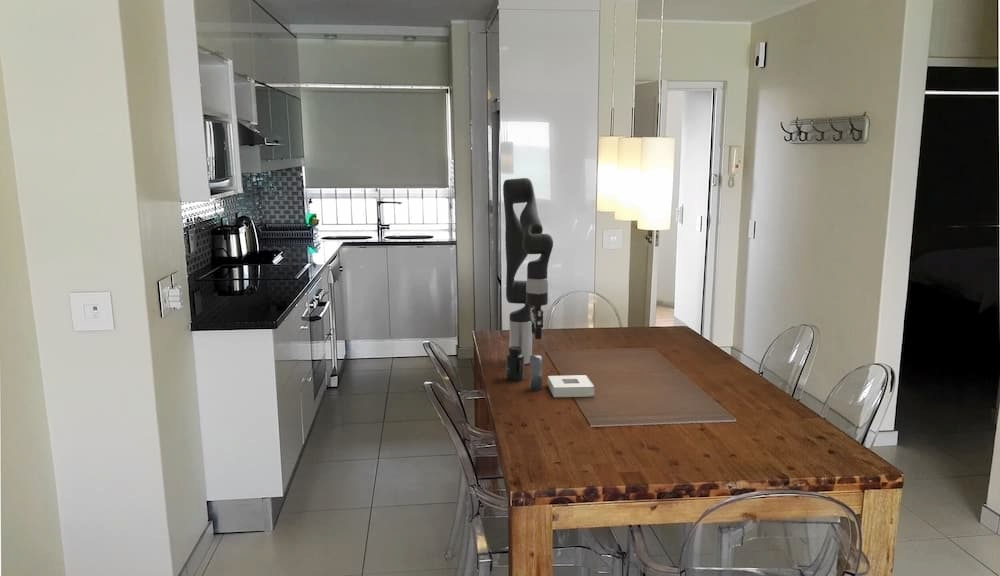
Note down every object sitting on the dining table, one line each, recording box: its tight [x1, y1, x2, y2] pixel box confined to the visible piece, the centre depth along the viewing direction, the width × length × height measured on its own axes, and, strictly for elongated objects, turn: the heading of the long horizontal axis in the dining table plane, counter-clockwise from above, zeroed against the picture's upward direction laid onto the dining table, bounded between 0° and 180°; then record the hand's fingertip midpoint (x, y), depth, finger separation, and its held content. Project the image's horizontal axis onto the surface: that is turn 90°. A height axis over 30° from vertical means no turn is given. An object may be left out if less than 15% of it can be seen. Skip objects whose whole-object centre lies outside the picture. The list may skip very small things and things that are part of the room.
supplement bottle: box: [505, 346, 525, 382], centre depth 271 cm, size 7×7×12 cm
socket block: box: [547, 374, 595, 398], centre depth 257 cm, size 14×14×4 cm
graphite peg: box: [529, 354, 543, 392], centre depth 259 cm, size 4×4×12 cm
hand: (536, 336), depth 256 cm, fingers open, 8 cm apart
